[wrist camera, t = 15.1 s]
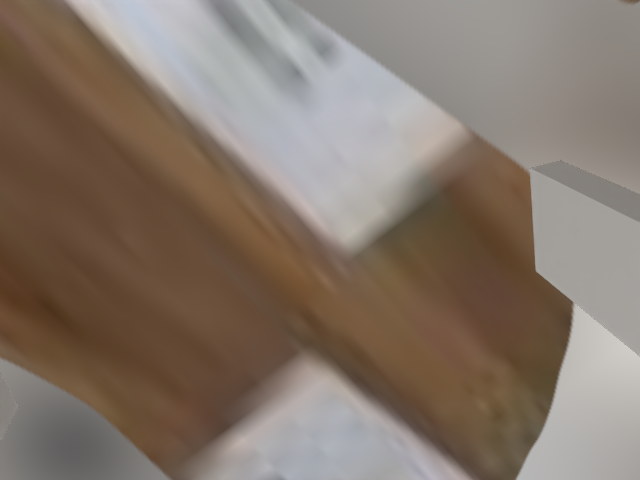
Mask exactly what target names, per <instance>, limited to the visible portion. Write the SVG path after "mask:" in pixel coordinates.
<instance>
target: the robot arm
mask: <svg viewBox="0 0 640 480" xmlns="http://www.w3.org/2000/svg"><path fill="white" fill-rule="evenodd" d="M530 179H531V196H532V213H533V230H534V247H535V264H536V272H538V273H539V274H540V275H541V276H543V277H544V278H545V279H546V280H547V281H549V282H550V283H551V284H552V285H553V286H555V287H556V288H557V289H558V290H560V291H561V292H562V293H563V294H564V295H566V296H567V297H568V298H569V299H571V300H572V301H573V302H574V303H575V304H577V305H578V306H579V307H580V308H581V309H583V310H584V311H585V312H586V313H588V314H589V315H590V316H591V317H593V318H594V319H595V320H596V321H597V322H599V323H600V324H601V325H602V326H603V327H605V328H606V329H607V330H608V331H610V332H611V333H612V334H613V335H614V336H616V337H617V338H618V339H619V340H620V341H622V342H623V343H624V344H625V345H627V346H628V347H629V348H630V349H631V350H633V351H634V352H635V353H636V354H638V355H639V356H640V194H638V193H636V192H633V191H631V190H629V189H626V188H624V187H622V186H620V185H617V184H615V183H613V182H610V181H608V180H605V179H603V178H601V177H598V176H596V175H594V174H591V173H589V172H587V171H584V170H582V169H580V168H577V167H575V166H573V165H570V164H568V163H566V162H563V161H561V160H560V161H556V162H552V163H548V164H544V165H540V166H536V167H532V168H530ZM18 408H19V407H18V405H17V403H16V402H15V400H14V398H13V396H12V394H11V392H10V390H9V388H8V386H7V385H6V383H5V381H4V379H3V377H2V375H1V374H0V441H1V439H2V438H3V435H4V434H5V432H6V430H7V428H8V427H9V425H10V423H11V421H12V419H13V417H14V415H15V414H16V412H17V410H18Z"/></svg>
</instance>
